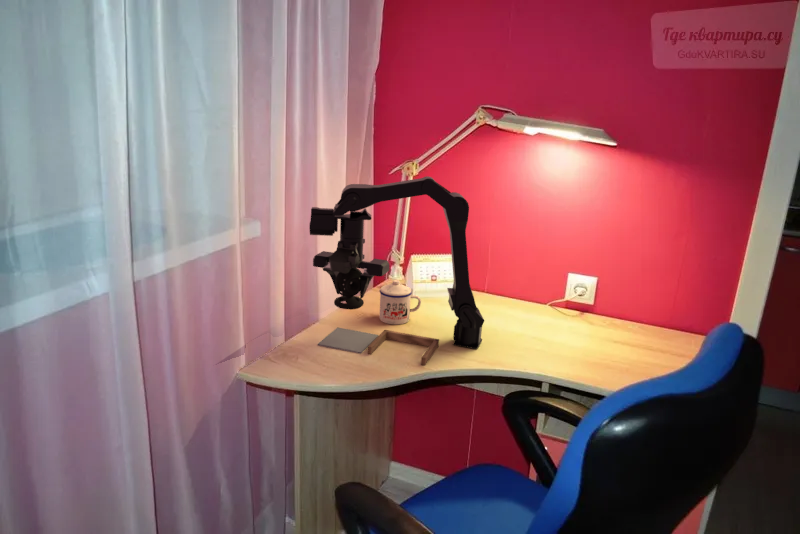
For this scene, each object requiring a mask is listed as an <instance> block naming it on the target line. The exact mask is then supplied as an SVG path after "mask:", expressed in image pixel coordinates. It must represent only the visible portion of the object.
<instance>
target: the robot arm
mask: <svg viewBox="0 0 800 534" xmlns="http://www.w3.org/2000/svg"><path fill="white" fill-rule="evenodd" d="M424 195H425V196H428V198H429V197H430V199H432V200H433V201H435V203H436V204H438V205H439V206H441V207H442V211H443V213H444V216H445V220H446V222H447V227H448V231H449V240H450V252H451V261H452V262H451V264H452V266H451V267H452V273H453V274H452V275H453V284H452V287H447V293H448V300H447V302H448V305H449V308H450V310H451V312H454V315H455V316H456V317H457V318H458V319H457V320H456V323H455V324H454V326H453V327H454V328H453V337H452V338H453V344H452V345H453V346H458V347H461V348H462V347H463V348H469V349H473V350H477V349H478V348H479V347H480V345H481V344H482V342H483V338H482V333H483V332H482V330H483V326H484V322H485V319H484V317H483V315H482V314H481V311H480V309H479V307H477V304H476V301H475V297H474V293H473V290H472V288H471V284H470V275H469V273H470V272H469V260H468V249H467V236H466V235H467V233H466V230H467V225H468V221H469V213H470V206H469V202H468V200H466V199H465V197H464V196H463V195H462V194H461V193H460V192H456V191H455V192H451V191H450V190H449V189H447V188H445V187H444V186H443V185H441V184H440V183H439V182H437V181H436V180H435V179H434V178H433V177H432V176H429V175H428V176H427V175H425V176H424V177H421V178H415V179H414V178H413V179H409V180H401V181H396V182H390V183H382V184H366V183H364V184H363V183H357V184H356V183H352V184H351V183H350V184H348V185H346V186H344V188H343V189H342V191H341V195H340V199H339V201H338V202H337V203H335V205H334V207H333V208H327V207H326V208H323V207H322V208H321V207H317V206H312V207H311V208H310V220H309V235H310V236H324V237H325V236H327V237H328V236H329V237H331V236H332V237H333V236H334V234H335V233H338V232H339V231H340V232H339V233H340V234H339V235H340V236H339V240H338V241H337V247H336V250H335V251H333V252H332V251H324V250H323V251H321V252H319V253H317V254H315V255H314V257H313V258H312V267H315V268H320V269H321V268H322V270H323V272H326V273H327V274H328V275H329V276H330V278H331V280H332V283H333V286H334V288H335V291H336V294H337V295H340V294H339V293H338V291H337V290H336V287H335V279H336V276H337V275H338V273H339V272H342V273H348V272H349V271H350V269H351V268H357V269H360V270H363V272H362V274H361V275H360V277H361V290H360V292H359V293H360V294H359V298H361V299H363V298H364V296H365V294H366V292H367V290H368V287H369V285H370V283H371V281H372V279H373V278H374V277H383V276H385V274H388V272H390V263H389V261H388V260H387V259H381V258H373V259H372V260H370V261H364V259H365V254H364V252H363V251H364V244H365V243H366V238H364V228H365V227H364V225H365V223H364V222H365V221H371V220H372V214H370V213H369V211H368V210H367V208H369V207H371V206H373V205H375V204H378V203H383V202H387V201H388V202H389V201H393V200H399V199H405V198H412V197H419V196H420V197H421V196H424ZM360 210H361V211H360ZM348 212H349V213H348ZM339 220H340V225H339ZM338 227H340V229H339V231H338ZM340 292H341V291H340ZM341 293H342V292H341Z"/></svg>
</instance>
